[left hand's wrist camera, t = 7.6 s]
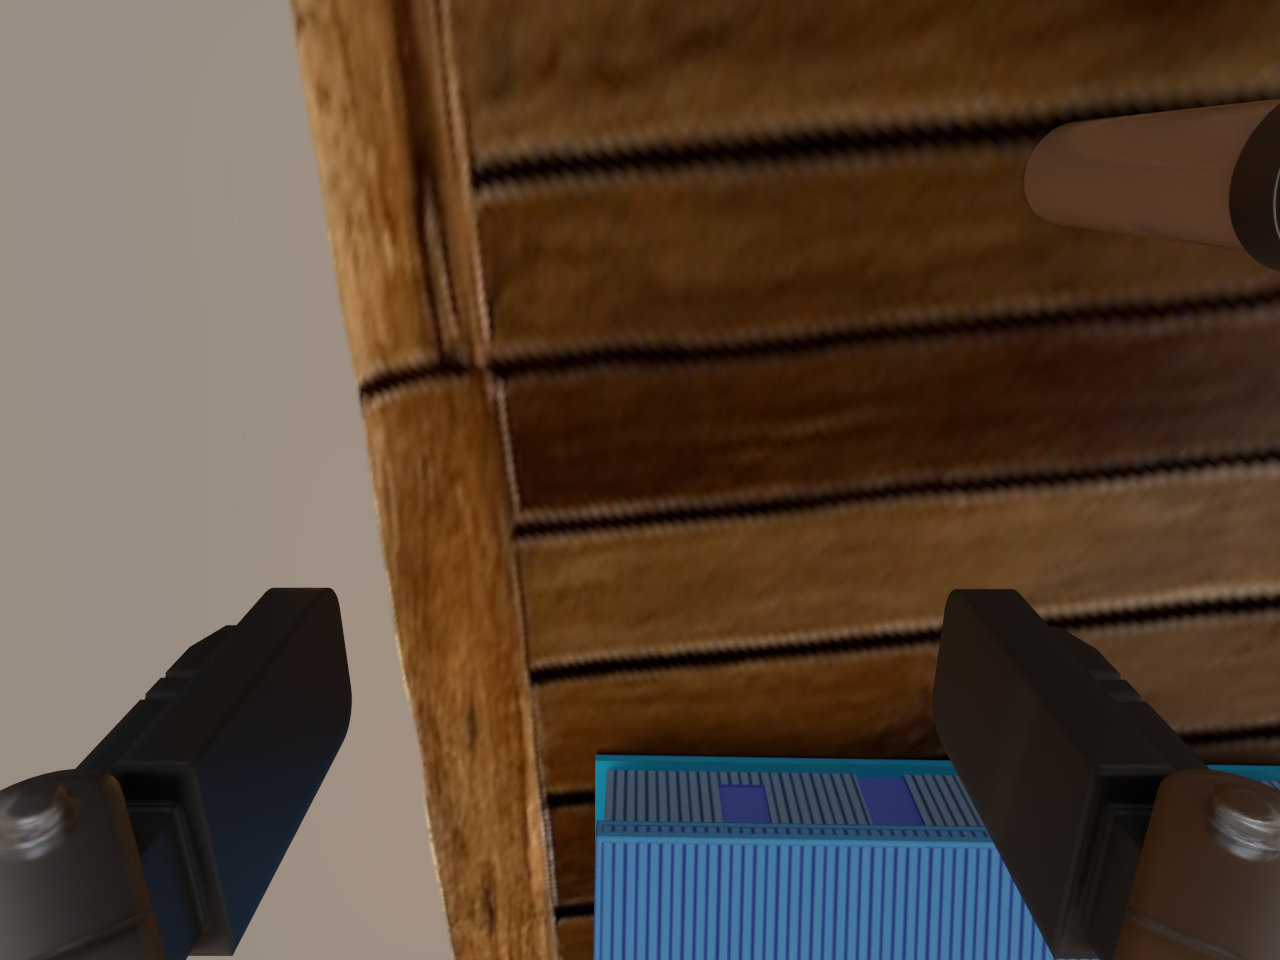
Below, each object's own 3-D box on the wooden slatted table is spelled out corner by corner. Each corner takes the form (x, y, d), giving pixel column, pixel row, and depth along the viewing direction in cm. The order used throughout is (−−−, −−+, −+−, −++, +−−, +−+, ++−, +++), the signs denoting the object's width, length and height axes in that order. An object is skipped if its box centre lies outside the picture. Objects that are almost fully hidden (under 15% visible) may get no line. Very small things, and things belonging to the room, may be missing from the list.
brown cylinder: (1141, 138, 36) (1501, 116, 21) (1095, 237, 38) (1400, 284, 22) (1049, 107, 36) (1350, 63, 21) (1006, 209, 37) (1257, 238, 22)
